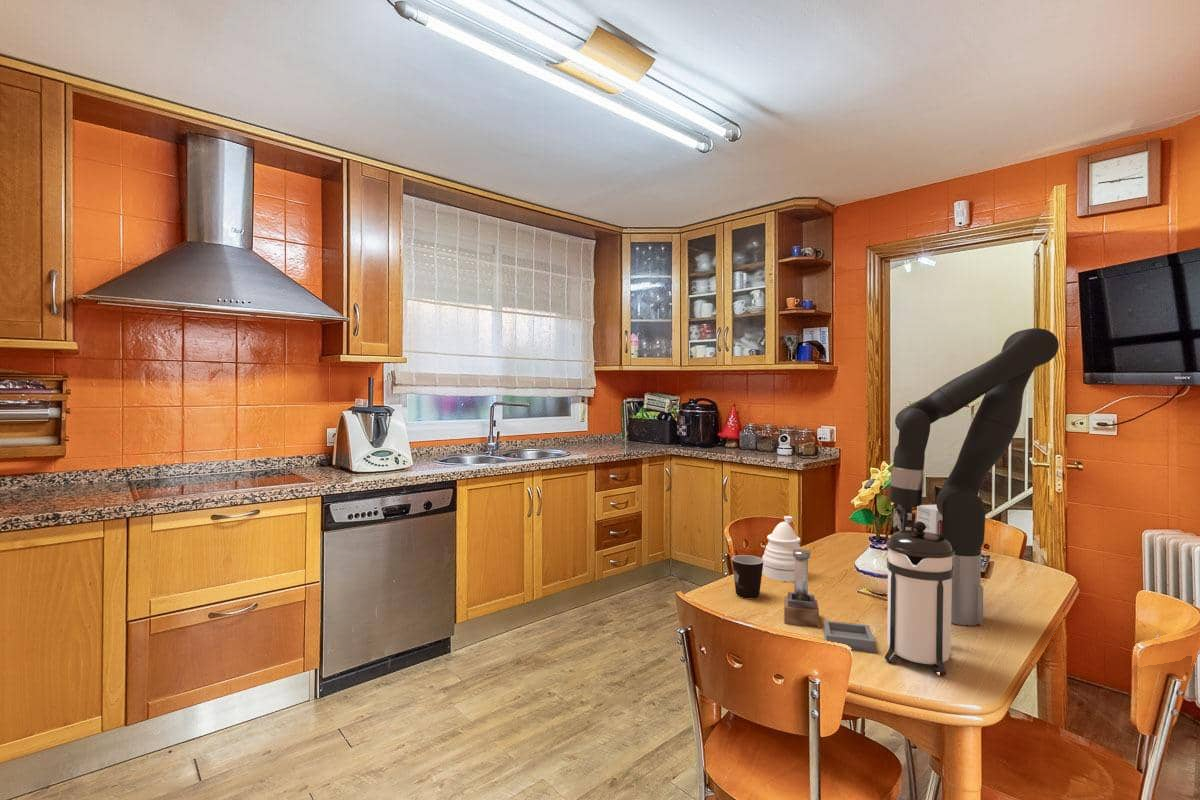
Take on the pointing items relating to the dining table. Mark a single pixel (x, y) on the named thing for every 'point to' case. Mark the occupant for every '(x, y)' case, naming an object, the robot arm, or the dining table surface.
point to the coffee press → (919, 597)
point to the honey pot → (781, 552)
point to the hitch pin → (801, 574)
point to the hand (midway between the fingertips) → (900, 547)
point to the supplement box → (930, 518)
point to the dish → (850, 635)
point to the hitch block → (801, 611)
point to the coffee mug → (747, 575)
